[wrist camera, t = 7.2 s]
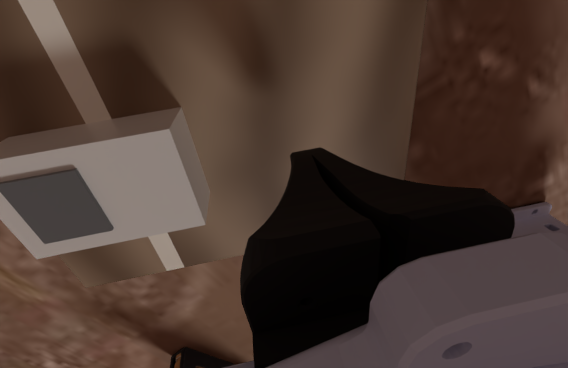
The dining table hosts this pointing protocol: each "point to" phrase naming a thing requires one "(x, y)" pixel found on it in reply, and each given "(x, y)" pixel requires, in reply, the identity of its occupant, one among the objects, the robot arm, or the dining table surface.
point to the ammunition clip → (196, 360)
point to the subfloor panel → (217, 97)
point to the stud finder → (102, 183)
